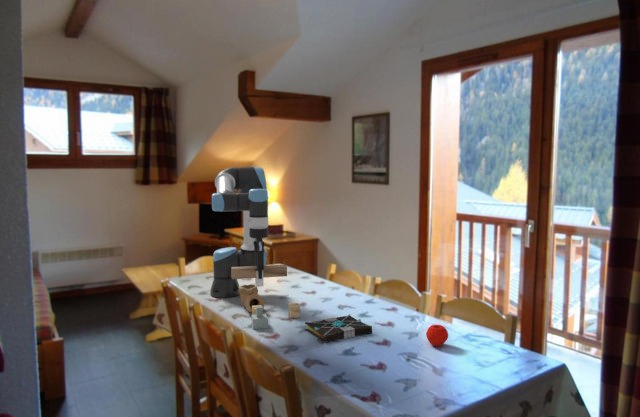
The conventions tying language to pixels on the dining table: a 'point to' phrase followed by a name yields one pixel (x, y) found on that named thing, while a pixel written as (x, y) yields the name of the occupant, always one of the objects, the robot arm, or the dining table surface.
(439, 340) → the apple
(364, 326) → the book
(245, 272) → the rod
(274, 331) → the dining table surface
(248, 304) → the pipe
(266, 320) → the block
